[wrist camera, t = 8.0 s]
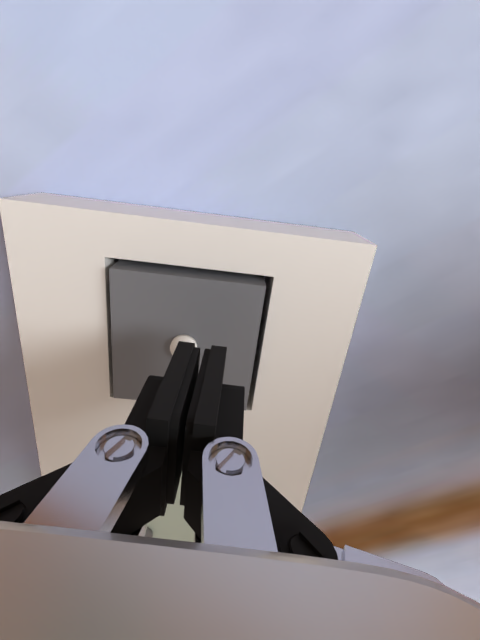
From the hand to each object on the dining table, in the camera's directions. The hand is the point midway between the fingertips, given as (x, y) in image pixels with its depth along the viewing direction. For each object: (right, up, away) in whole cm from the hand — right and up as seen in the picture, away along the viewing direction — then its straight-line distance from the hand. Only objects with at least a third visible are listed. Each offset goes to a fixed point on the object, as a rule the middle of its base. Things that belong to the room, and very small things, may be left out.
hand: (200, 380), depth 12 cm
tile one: (-1, +2, +5) cm, 5 cm away
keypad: (-2, -6, +9) cm, 11 cm away
